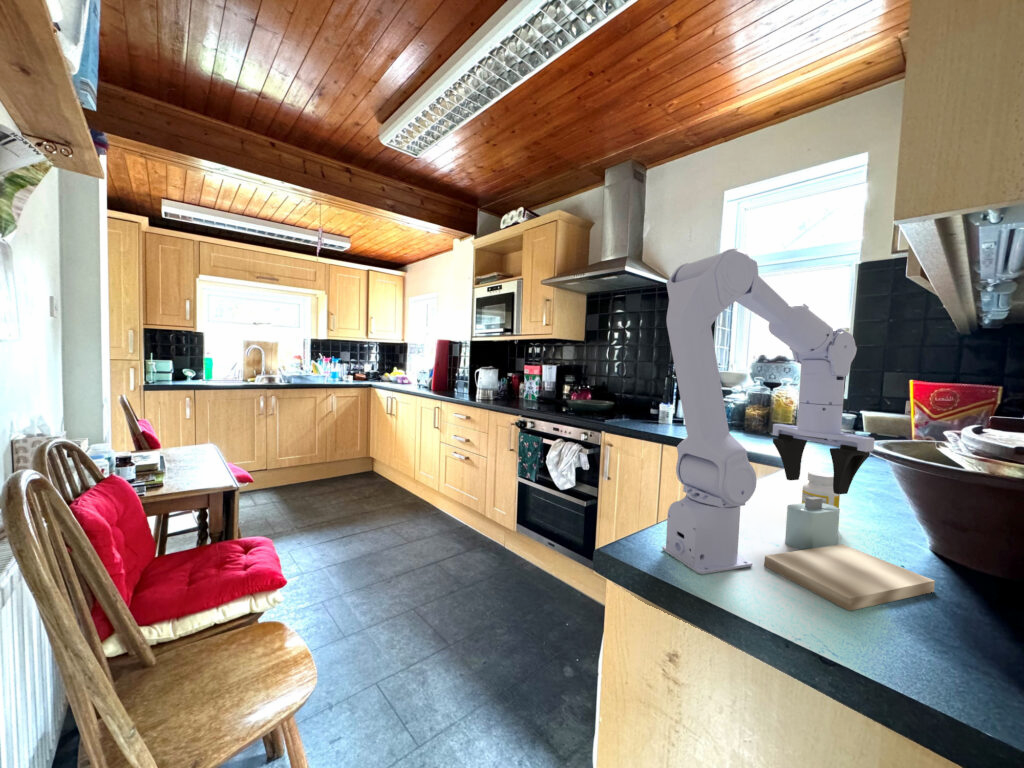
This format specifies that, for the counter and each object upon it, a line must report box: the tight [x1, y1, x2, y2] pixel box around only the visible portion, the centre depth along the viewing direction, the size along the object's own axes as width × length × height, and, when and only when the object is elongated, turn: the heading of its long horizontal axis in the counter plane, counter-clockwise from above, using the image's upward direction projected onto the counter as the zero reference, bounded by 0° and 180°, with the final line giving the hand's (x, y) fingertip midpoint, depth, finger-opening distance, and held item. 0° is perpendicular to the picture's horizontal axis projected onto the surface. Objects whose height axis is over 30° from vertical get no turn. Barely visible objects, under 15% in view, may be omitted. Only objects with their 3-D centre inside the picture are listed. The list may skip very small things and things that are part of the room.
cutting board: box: [763, 543, 936, 612], centre depth 55 cm, size 16×11×2 cm
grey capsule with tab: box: [784, 497, 841, 550], centre depth 66 cm, size 9×4×8 cm, turn 108°
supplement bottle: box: [801, 471, 841, 509], centre depth 73 cm, size 5×5×10 cm
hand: (815, 486), depth 65 cm, fingers open, 7 cm apart
